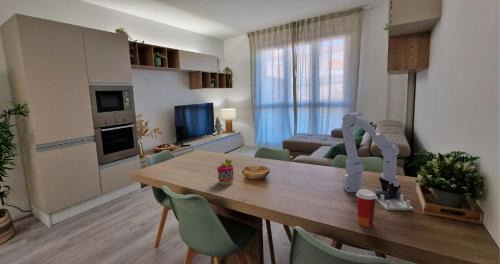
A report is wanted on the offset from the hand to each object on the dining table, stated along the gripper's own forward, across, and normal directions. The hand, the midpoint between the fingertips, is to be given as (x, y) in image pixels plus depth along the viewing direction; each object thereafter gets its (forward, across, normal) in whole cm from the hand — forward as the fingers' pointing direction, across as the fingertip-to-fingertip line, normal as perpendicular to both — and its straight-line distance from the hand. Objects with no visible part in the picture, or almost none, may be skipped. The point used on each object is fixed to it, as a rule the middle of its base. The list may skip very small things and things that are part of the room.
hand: (388, 194), depth 121 cm
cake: (+3, +28, +89) cm, 93 cm away
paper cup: (+3, -22, +20) cm, 30 cm away
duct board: (+3, -3, 0) cm, 4 cm away
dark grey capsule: (+2, 0, 0) cm, 2 cm away
